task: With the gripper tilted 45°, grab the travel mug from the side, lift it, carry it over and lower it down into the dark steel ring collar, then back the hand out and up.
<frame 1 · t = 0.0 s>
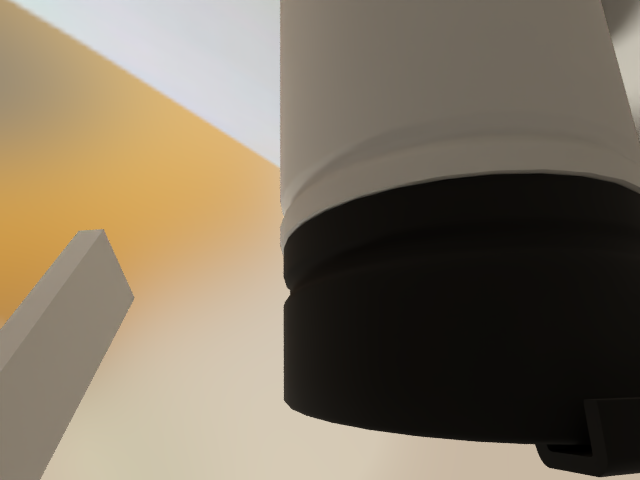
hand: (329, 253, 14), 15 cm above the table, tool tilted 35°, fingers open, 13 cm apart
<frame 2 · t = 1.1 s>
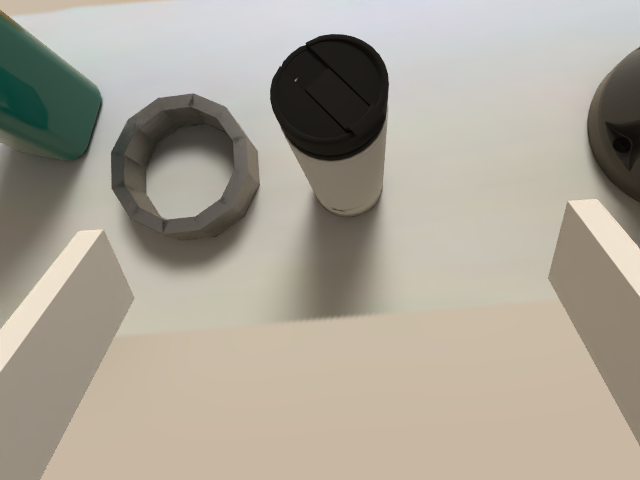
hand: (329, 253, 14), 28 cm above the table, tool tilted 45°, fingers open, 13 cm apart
ring collar: (195, 174, 45), on the table
green bottle: (58, 125, 47), on the table
travel mug: (349, 185, 43), on the table
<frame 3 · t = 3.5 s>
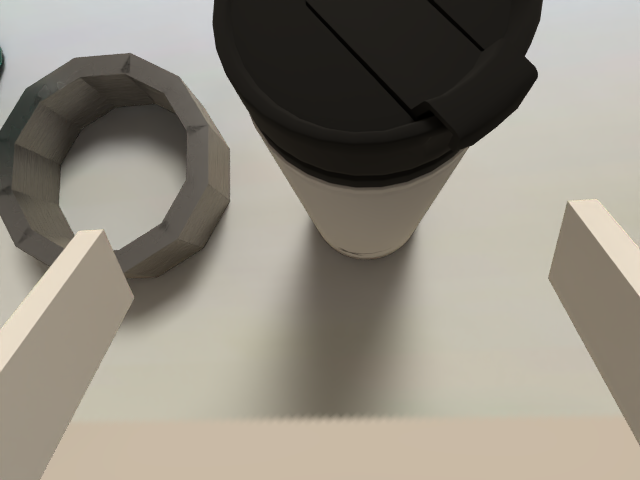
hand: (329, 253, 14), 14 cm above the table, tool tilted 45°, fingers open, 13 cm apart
ring collar: (134, 180, 29), on the table
travel mug: (367, 210, 28), on the table
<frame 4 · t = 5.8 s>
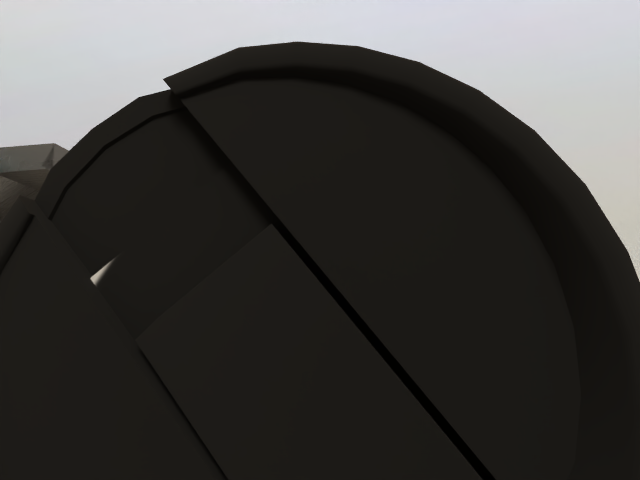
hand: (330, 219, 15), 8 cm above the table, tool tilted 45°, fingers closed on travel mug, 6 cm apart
ring collar: (69, 284, 25), on the table
travel mug: (347, 324, 23), on the table, touching gripper
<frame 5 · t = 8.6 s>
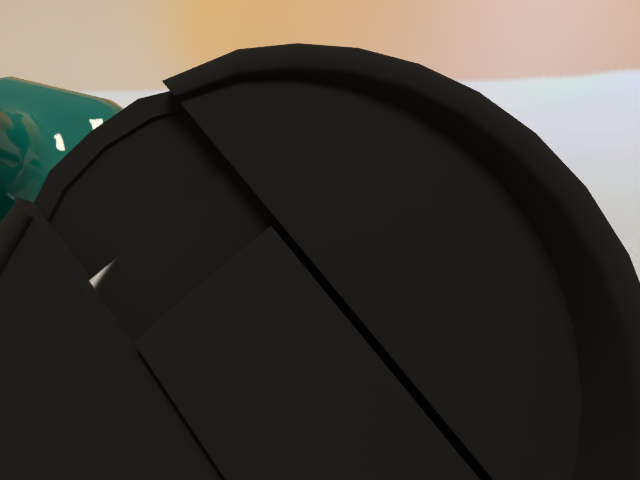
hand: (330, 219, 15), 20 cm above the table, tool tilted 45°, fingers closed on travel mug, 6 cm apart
green bottle: (170, 237, 37), on the table
travel mug: (348, 325, 23), point 12 cm above the table, touching gripper
when the fingers open (10 cm above the table, at t = 11.4 s): travel mug drops 1 cm, resting in ring collar.
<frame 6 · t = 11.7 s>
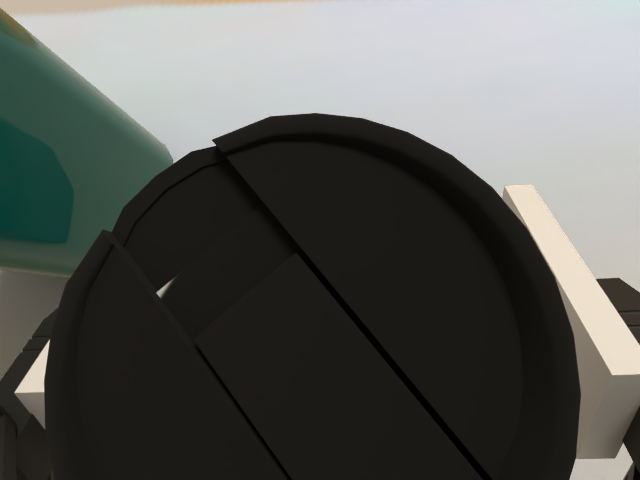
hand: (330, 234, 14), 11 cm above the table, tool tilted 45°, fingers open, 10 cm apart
green bottle: (95, 211, 27), on the table
travel mug: (349, 324, 24), resting in ring collar
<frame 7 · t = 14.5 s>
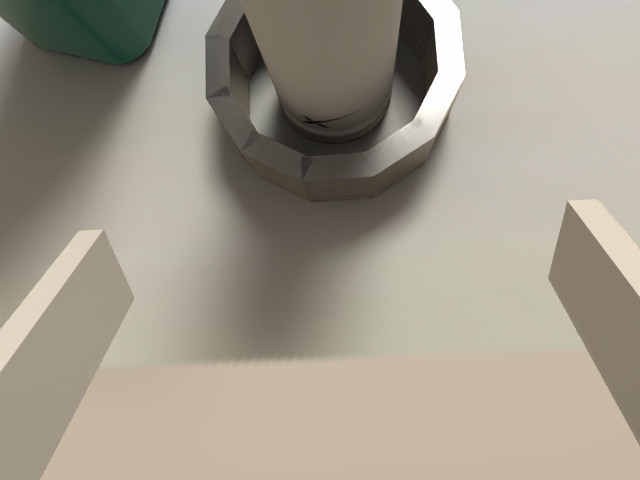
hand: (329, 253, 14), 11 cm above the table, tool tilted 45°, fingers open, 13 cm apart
ring collar: (335, 93, 26), on the table
green bottle: (102, 10, 29), on the table
travel mug: (337, 95, 27), resting in ring collar
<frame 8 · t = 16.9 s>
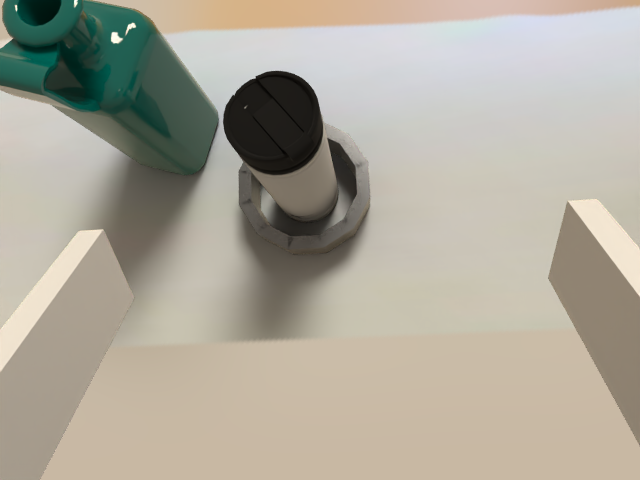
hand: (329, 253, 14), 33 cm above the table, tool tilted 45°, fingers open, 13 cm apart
ring collar: (308, 194, 48), on the table
green bottle: (175, 140, 50), on the table
travel mug: (309, 194, 48), resting in ring collar
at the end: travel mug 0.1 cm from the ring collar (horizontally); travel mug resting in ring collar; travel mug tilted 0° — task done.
